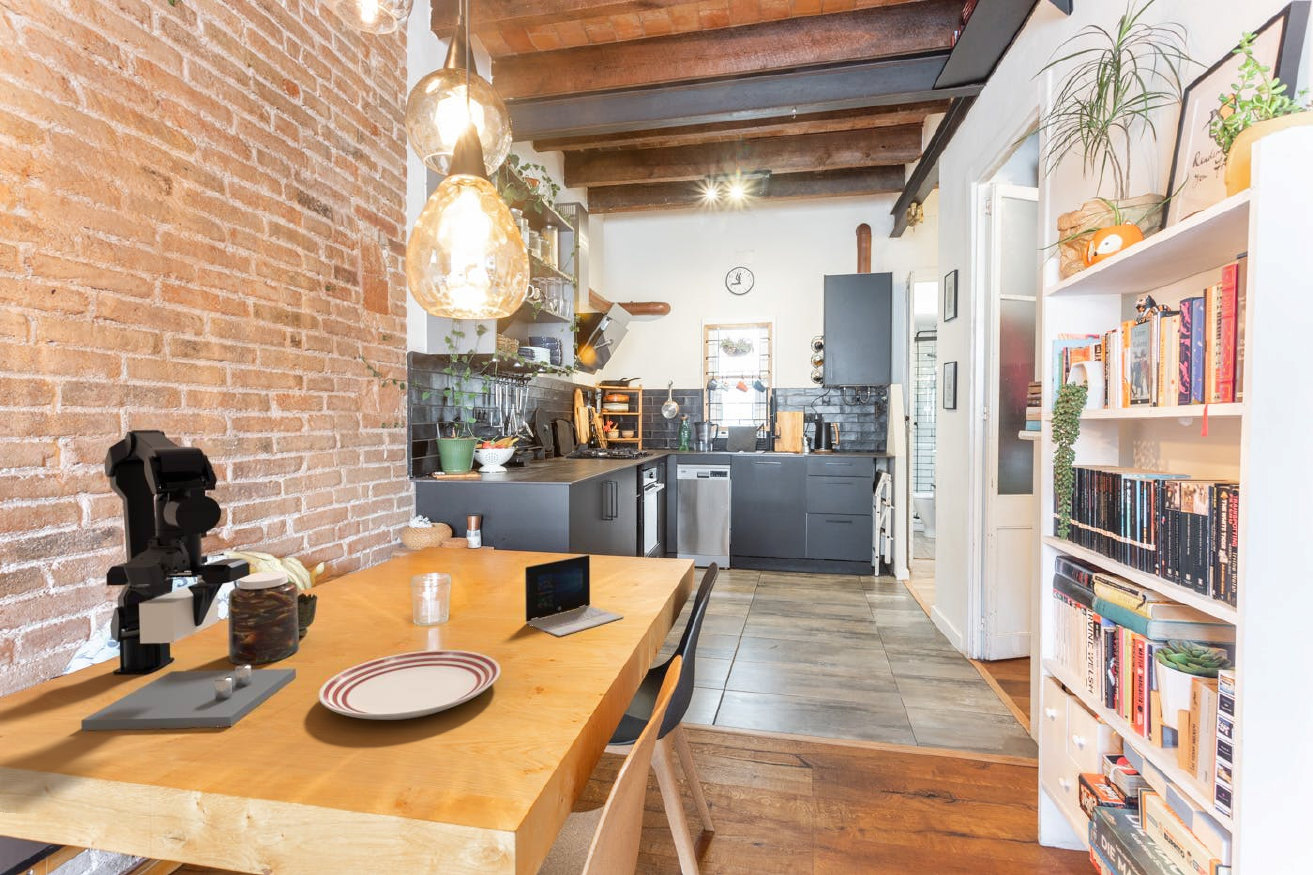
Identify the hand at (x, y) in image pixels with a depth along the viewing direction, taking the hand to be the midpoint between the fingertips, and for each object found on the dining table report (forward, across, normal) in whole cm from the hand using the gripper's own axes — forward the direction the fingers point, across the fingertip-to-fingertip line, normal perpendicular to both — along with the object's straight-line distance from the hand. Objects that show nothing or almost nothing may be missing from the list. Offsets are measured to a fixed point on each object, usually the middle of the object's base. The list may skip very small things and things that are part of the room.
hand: (181, 625), depth 101 cm
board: (+12, +2, 0) cm, 12 cm away
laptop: (+13, +58, +39) cm, 71 cm away
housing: (+1, 0, 0) cm, 1 cm away
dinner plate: (+13, +36, +2) cm, 38 cm away
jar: (+12, 0, +21) cm, 25 cm away
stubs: (+11, +8, 0) cm, 13 cm away
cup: (+12, +1, +31) cm, 34 cm away
